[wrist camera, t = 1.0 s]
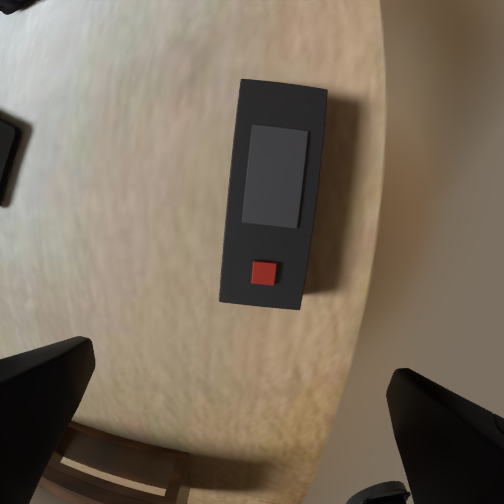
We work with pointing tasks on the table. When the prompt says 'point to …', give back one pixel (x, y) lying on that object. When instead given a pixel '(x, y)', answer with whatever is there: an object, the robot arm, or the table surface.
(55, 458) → the shelf
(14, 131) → the smartphone
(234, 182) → the remote
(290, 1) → the table surface
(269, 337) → the table surface
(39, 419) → the robot arm
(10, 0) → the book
